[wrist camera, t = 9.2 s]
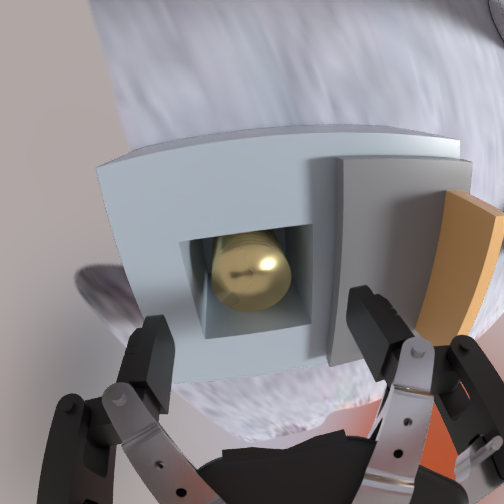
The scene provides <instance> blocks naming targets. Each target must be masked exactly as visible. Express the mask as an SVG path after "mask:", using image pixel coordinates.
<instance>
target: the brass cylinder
mask: <svg viewBox="0 0 504 504" xmlns="http://www.w3.org/2000/svg"><path fill="white" fill-rule="evenodd" d="M290 283H291V269H290V266H289V264H288V261H287V259H286V257H285V255H284V253H283V251H282V248H281V246H280V244H279V242H278V240H277V238H276V235H275V233H274V231H273V229H266V230H258V231H251V232H244V233H236V234H229V235H222V236H215V237H213V247H212V288H213V291H214V293H215V295H216V297H217V298H218V299H219V300H220V301H221V302H222V303H223V304H224V305H225V306H227V307H229V308H231V309H233V310H236V311H241V312H257V311H261V310H264V309H267V308H269V307H271V306H273V305H275V304H276V303H277V302H279V301H280V300H281V299H282V298H283V296H284V295H285V294H286V292H287V291H288V289H289V286H290Z"/></svg>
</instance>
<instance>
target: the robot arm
mask: <svg viewBox="0 0 504 504" xmlns="http://www.w3.org/2000/svg"><path fill="white" fill-rule="evenodd" d="M489 7H490V11H491V14H492V17H493V20H494V22H495V24H496V27H497V29H498V31H499V33H500V35H501V37H502V38H503V40H504V0H489ZM346 322H347V326H348V328H349V330H350V332H351V334H352V336H353V338H354V340H355V342H356V344H357V346H358V348H359V350H360V351H361V353H362V355H363V357H364V359H365V361H366V363H367V365H368V367H369V369H370V371H371V373H372V375H373V377H374V379H375V382H378V381H381V380H384V379H385V381H386V383H387V385H386V387H385V390H384V394H383V397H382V400H381V403H380V406H379V409H378V412H377V415H376V418H375V421H374V423H373V426H372V428H371V430H370V432H369V434H368V437H367V438H365V437H360V436H346V435H345V432H344V429H343V430H339V431H335V432H331V433H327V434H324V435H319V436H315V437H313V438H311V439H309V440H306V441H304V442H302V443H300V444H297V445H295V446H293V447H290V448H288V449H267V448H256V447H250V448H240V449H227V450H222V457H220V458H217V459H214V460H212V461H210V462H208V463H206V464H205V465H203V466H202V467H200V468H199V469H197V468H196V467H195V466H194V465H193V464H192V463H191V462H190V460H189V459H188V458H187V457H186V456H185V455H184V454H183V453H182V452H181V450H180V449H179V448H178V447H177V445H176V444H175V443H174V442H173V440H172V439H171V438H170V437H169V435H168V434H167V433H166V431H165V430H164V429H163V427H162V426H161V425H160V423H159V414H168V410H169V401H170V392H171V383H172V375H173V367H174V359H175V342H174V339H173V336H172V334H171V331H170V329H169V326H168V324H167V321H166V318H165V316H164V315H163V314H161V315H150V316H146V317H145V320H144V323H143V327H142V328H137V329H136V330H135V331H134V332H133V334H132V335H131V336H130V338H129V341H128V344H127V348H126V351H125V355H124V357H123V360H122V364H121V367H120V371H119V374H118V378H117V381H116V383H114V384H112V385H110V386H109V387H108V388H107V389H106V390H105V391H104V393H103V395H102V397H98V398H94V399H90V400H86V401H84V400H83V399H82V398H81V397H80V396H79V395H77V394H68V395H65V396H64V397H62V398H61V399H60V401H59V402H58V404H57V407H56V410H55V413H54V417H53V420H52V424H51V428H50V432H49V436H48V440H47V445H46V449H45V454H44V459H43V464H42V470H41V475H40V482H39V488H38V496H37V504H113V482H114V468H115V456H116V445H117V444H122V443H123V444H122V449H123V451H124V453H125V454H126V456H127V457H128V459H129V461H130V462H131V464H132V466H133V467H134V469H135V470H136V472H137V473H138V475H139V476H140V478H141V479H142V481H143V482H144V484H145V485H146V486H147V488H148V489H149V491H150V492H151V493H152V495H153V496H154V497H155V499H156V500H157V501H158V503H159V504H476V503H477V502H478V501H480V500H481V499H483V498H484V497H485V496H487V495H488V494H490V493H491V492H492V491H494V490H495V489H496V488H498V487H500V486H502V485H504V382H503V381H502V379H501V378H500V376H499V375H498V373H497V371H496V370H495V368H494V367H493V365H492V364H491V362H490V361H489V360H488V358H487V357H486V355H485V354H484V352H483V351H482V350H481V348H480V347H479V346H478V344H477V343H476V341H475V340H474V339H473V338H471V337H469V336H467V335H457V336H455V337H454V338H453V339H452V341H451V343H450V345H443V346H433V345H432V344H431V343H430V342H429V341H427V340H426V339H424V338H420V337H415V336H414V334H413V333H412V332H411V330H410V329H409V327H408V326H407V325H406V323H405V322H404V321H403V319H402V318H401V317H400V315H398V313H397V311H396V310H395V309H394V308H393V306H392V305H391V303H390V302H389V301H388V299H386V298H384V297H383V296H381V295H380V294H375V295H374V293H373V292H372V290H371V289H370V288H369V287H368V286H367V285H362V286H357V287H352V288H350V289H349V294H348V303H347V311H346ZM460 382H462V384H463V385H464V387H465V389H466V391H467V392H468V394H469V396H470V399H469V398H468V396H467V394H466V392H465V390H464V389H463V387H462V385H461V383H460ZM433 401H434V402H435V404H436V406H437V408H438V410H439V412H440V414H441V416H442V419H443V421H444V423H445V425H446V427H447V430H448V432H449V434H450V436H451V439H452V441H453V443H454V446H455V448H456V451H457V453H458V458H457V460H456V463H455V469H454V474H455V476H456V480H452V479H450V478H448V477H445V476H443V475H441V474H439V473H436V472H434V471H432V470H430V469H428V468H426V467H424V466H422V465H420V464H419V463H420V460H421V456H422V452H423V449H424V444H425V441H426V437H427V432H428V428H429V423H430V418H431V413H432V407H433Z"/></svg>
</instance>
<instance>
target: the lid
mask: <svg viewBox="0 0 504 504" xmlns="http://www.w3.org/2000/svg"><path fill="white" fill-rule="evenodd" d="M472 166H473V162H470V161H467V160H464V159H456V158H442V157H423V156H340V157H336V242H335V265H334V281H333V295H332V307H331V318H330V328H329V337H328V346H327V354H326V359H327V362H328V364H329V367H332V366H336V365H340V364H344V363H348V362H352V361H356V360H360V359H363V358H364V357H363V355H362V353H361V351H360V350H359V348H358V346H357V344H356V342H355V340H354V338H353V336H352V334H351V332H350V330H349V328H348V326H347V322H346V311H347V303H348V294H349V289H350V288H352V287H357V286H362V285H367V286H368V287H369V288H370V289H371V290H372V292H373V293H374V295H375V294H380V295H381V296H383V297H384V298H386V299H388V301H389V302H390V303H391V305H392V306H393V308H394V309H395V310H396V311H397V313H398V315H400V317H401V318H402V319H403V321H404V322H405V323H406V325H407V326H408V327H409V329H410V330H411V332H412V333H413V334H414V336H415V337H420V338H424V339H426V340H427V341H429V342H430V343H431V344H432V345H433V346H443V345H450V343H451V341H452V339H453V338H454V337H455V336H457V335H467V336H468V334H469V332H470V330H471V328H472V326H473V323H474V321H475V319H476V317H477V314H478V312H479V310H480V307H481V305H482V302H483V300H484V297H485V295H486V292H487V289H488V287H489V284H490V281H491V278H492V275H493V272H494V269H495V266H496V263H497V259H498V256H499V252H500V249H501V245H502V241H503V237H504V212H503V211H501V210H499V209H497V208H495V207H494V206H492V205H490V204H488V203H486V202H484V201H482V200H480V199H478V198H476V197H474V196H472V195H470V187H471V178H472Z"/></svg>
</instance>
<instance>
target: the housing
mask: <svg viewBox="0 0 504 504" xmlns="http://www.w3.org/2000/svg"><path fill="white" fill-rule="evenodd" d="M340 156H423V157H442V158H456V159H459V156H460V140H456V139H452V138H448V137H444V136H439V135H435V134H430V133H425V132H420V131H414V130H408V129H402V128H396V127H389V126H372V125H305V126H286V127H272V128H260V129H250V130H241V131H232V132H225V133H217V134H211V135H204V136H198V137H192V138H186V139H181V140H176V141H170V142H166V143H161V144H156V145H151V146H147V147H143V148H141V149H138V150H136V151H133V152H131V153H128V154H126V155H124V156H121V157H119V158H117V159H114V160H112V161H110V162H107V163H105V164H103V165H101V166H99V167H97V168H96V171H97V176H98V180H99V184H100V188H101V193H102V197H103V201H104V205H105V209H106V212H107V216H108V219H109V222H110V226H111V230H112V233H113V236H114V240H115V243H116V246H117V249H118V252H119V255H120V258H121V261H122V264H123V267H124V270H125V273H126V275H127V278H128V281H129V283H130V286H131V289H132V291H133V294H134V297H135V299H136V302H137V304H138V307H139V309H140V311H141V314H142V316H143V319H144V320H145V317H146V316H150V315H161V314H163V315H164V316H165V318H166V321H167V324H168V326H169V329H170V331H171V334H172V336H173V339H174V342H175V359H174V367H173V375H172V380H173V382H174V384H175V383H193V382H207V381H218V380H228V379H237V378H245V377H253V376H260V375H267V374H273V373H279V372H285V371H291V370H296V369H301V368H307V367H311V366H316V365H321V364H325V363H328V362H327V359H326V354H327V346H328V337H329V328H330V318H331V307H332V295H333V281H334V265H335V242H336V157H340ZM266 229H273V231H274V233H275V235H276V238H277V240H278V242H279V244H280V246H281V248H282V251H283V253H284V255H285V257H286V259H287V261H288V264H289V266H290V269H291V283H290V286H289V289H288V291H287V292H286V294H285V295H284V296H283V298H282V299H281V300H280V301H279V302H277V303H276V304H275V305H273V306H271V307H269V308H267V309H264V310H261V311H257V312H241V311H236V310H233V309H231V308H229V307H227V306H225V305H224V304H223V303H222V302H221V301H220V300H219V299H218V298H217V297H216V295H215V293H214V291H213V288H212V247H213V237H215V236H222V235H229V234H236V233H244V232H251V231H258V230H266Z"/></svg>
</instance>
